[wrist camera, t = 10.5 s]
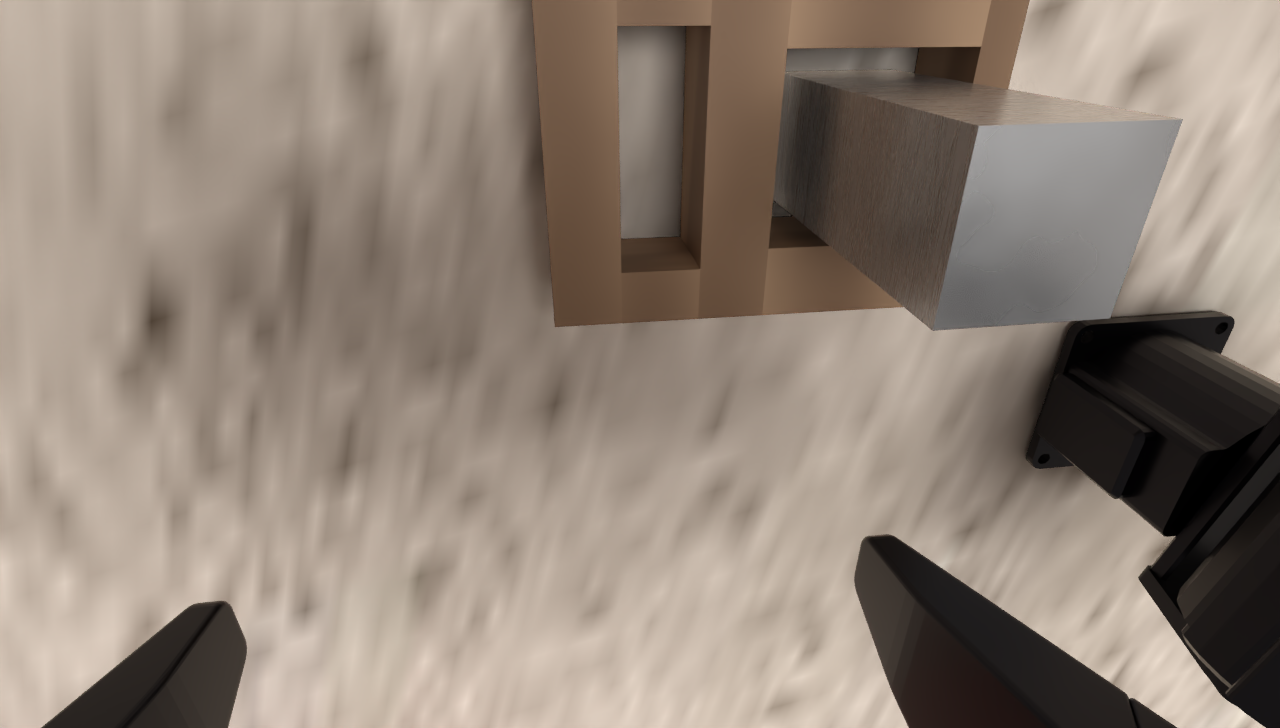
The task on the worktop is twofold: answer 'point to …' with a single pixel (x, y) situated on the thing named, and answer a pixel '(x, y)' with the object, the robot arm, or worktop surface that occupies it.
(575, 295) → the brown wooden slotted frame
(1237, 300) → the worktop surface
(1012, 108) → the square bit
